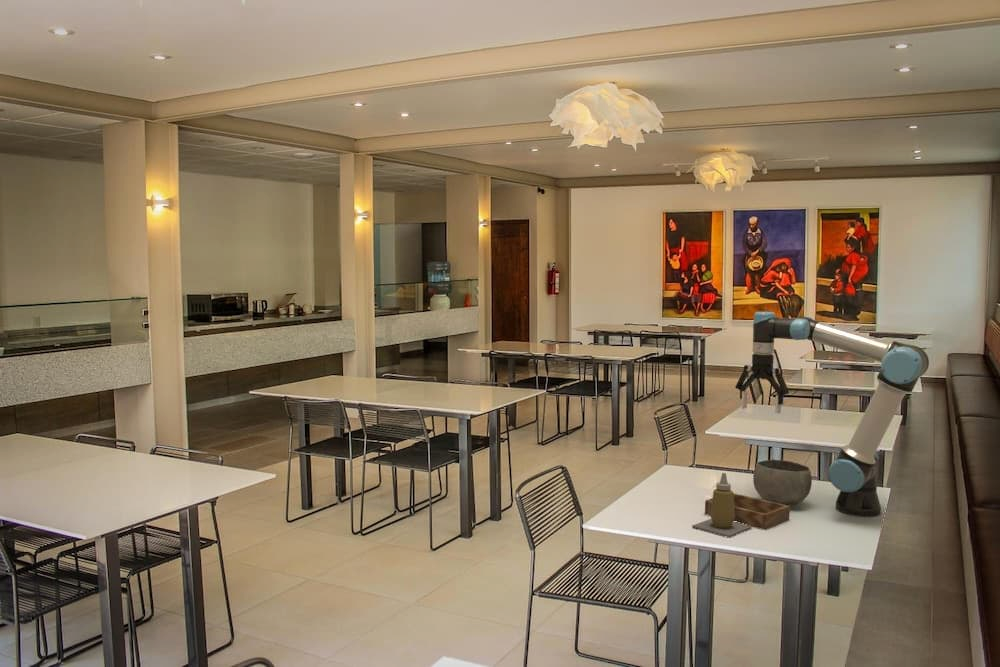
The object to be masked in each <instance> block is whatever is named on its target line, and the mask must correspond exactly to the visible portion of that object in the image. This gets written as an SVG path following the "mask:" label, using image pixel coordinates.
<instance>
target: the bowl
mask: <svg viewBox="0 0 1000 667" xmlns="http://www.w3.org/2000/svg"><path fill="white" fill-rule="evenodd" d="M752 478H753V480H752V482H753V487H754V490H755V491H756V492H757V494H758V496H760V498H761V499H762V500H766V501H770V502H774V503H779V504H783V505H788V506H793V505H797V504H800V503H801V502H803V501H805V499H806V498H807V497H808V496H809V494H810V492H811V489H812V484H813V481H812V480H813V479H812V472H811V470H810V467H808V466H806V465H803V464H801V463H799V462H795V461H793V462H792V461H788V460H783V459H782V460H781V459H768V460H762V461H759V462H757V463H756V466H755V468H754V471H753V477H752Z"/></svg>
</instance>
